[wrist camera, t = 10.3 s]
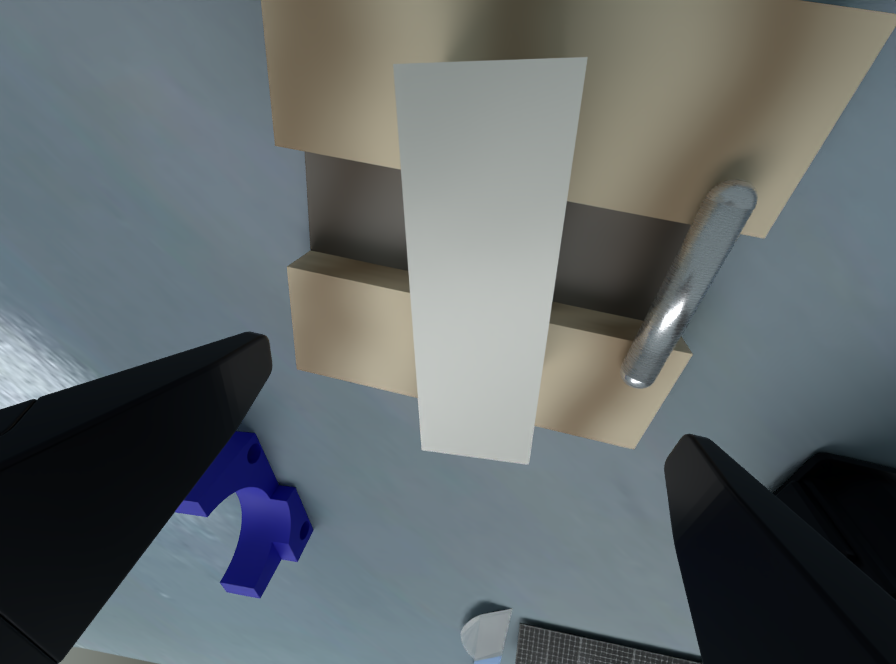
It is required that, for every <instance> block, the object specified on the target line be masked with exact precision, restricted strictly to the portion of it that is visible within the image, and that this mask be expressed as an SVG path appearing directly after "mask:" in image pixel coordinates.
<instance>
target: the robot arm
mask: <svg viewBox="0 0 896 664" xmlns="http://www.w3.org/2000/svg"><path fill="white" fill-rule="evenodd" d="M271 371H272V358H271V351H270V343H269V339H268V338H267V336H265V335H263V334H259V333H254V332H244V333H241V334H238V335H235V336H232V337H228V338H225V339H222V340H219V341H216V342H213V343H209V344H206V345H203V346H200V347H197V348H194V349H190V350H187V351H184V352H181V353H178V354H175V355H171V356H168V357H165V358H162V359H159V360H156V361H152V362H149V363H146V364H143V365H140V366H137V367H133V368H130V369H127V370H124V371H121V372H118V373H114V374H111V375H108V376H105V377H102V378H99V379H96V380H92V381H89V382H86V383H83V384H80V385H77V386H73V387H70V388H67V389H64V390H61V391H58V392H54V393H51V394H48V395H45V396H42V397H40V398H38V400H36V399H32V400H29V401H26V402H22V403H19V404H16V405H13V406H10V407H7V408H4V409H0V664H58V663H59V662H61V661H62V660H63V659H64V657H65V656H66V655H67V653H68V652H69V651H70V649H71V648H72V647H73V646H74V644H75V643H76V642H77V640H78V639H79V638H80V636H81V635H82V634H83V632H84V631H85V630H86V628H87V627H88V626H89V624H90V623H91V622H92V620H93V619H94V618H95V617H96V615H97V614H98V613H99V611H100V610H101V609H102V607H103V606H104V605H105V603H106V602H107V601H108V599H109V598H110V597H111V595H112V594H113V593H114V591H115V590H116V589H117V587H118V586H119V585H120V584H121V582H122V581H123V580H124V578H125V577H126V576H127V574H128V573H129V572H130V570H131V569H132V568H133V566H134V565H135V564H136V562H137V561H138V560H139V558H140V557H141V556H142V555H143V553H144V552H145V551H146V549H147V548H148V547H149V545H150V544H151V543H152V541H153V540H154V539H155V537H156V536H157V535H158V533H159V532H160V531H161V529H162V528H163V527H164V526H165V524H166V523H167V522H168V520H169V519H170V518H171V516H172V515H173V514H174V512H175V511H176V510H177V508H178V507H179V506H180V504H181V503H182V502H183V500H184V499H185V498H186V496H187V495H188V494H189V493H190V491H191V490H192V489H193V487H194V486H195V485H196V483H197V482H198V481H199V479H200V478H201V477H202V475H203V474H204V473H205V471H206V470H207V469H208V467H209V466H210V465H211V464H212V462H213V461H214V460H215V458H216V457H217V456H218V454H219V453H220V452H221V450H222V449H223V448H224V446H225V445H226V444H227V442H228V441H229V440H230V438H231V437H232V436H233V434H234V433H235V431H236V430H237V428H238V427H239V425H240V424H241V422H242V420H243V419H244V417H245V416H246V414H247V412H248V411H249V409H250V407H251V406H252V404H253V402H254V401H255V399H256V397H257V396H258V394H259V392H260V391H261V389H262V387H263V386H264V384H265V382H266V381H267V379H268V377H269V376H270V374H271ZM664 472H665V480H666V487H667V495H668V502H669V510H670V518H671V525H672V533H673V539H674V544H675V549H676V554H677V558H678V562H679V566H680V571H681V575H682V579H683V583H684V587H685V591H686V595H687V599H688V604H689V608H690V612H691V616H692V620H693V624H694V628H695V633H696V637H697V641H698V645H699V649H700V653H701V657H702V662H703V664H896V469H895V468H891V467H886V466H882V465H878V464H873V463H869V462H865V461H860V460H856V459H852V458H847V457H843V456H839V455H834V454H830V453H819V454H816V455H814V456H812V457H811V458H810V459H809V460H808V461H807V462H806V463H805V464H804V465H803V466H802V467H801V468H800V469H799V470H798V471H797V472H796V473H795V474H794V475H793V476H792V477H791V478H790V479H789V480H788V481H787V482H786V483H785V484H784V485H783V486H782V487H781V488H780V489H779V490H778V491H777V492H775V493H774V494H773V493H771V492H770V491H769V490H768V489H767V488H766V487H765V486H763V485H762V484H761V483H760V482H759V481H758V480H757V479H755V478H754V477H753V476H752V475H751V474H750V473H748V472H747V471H746V470H745V469H744V468H743V467H742V466H740V465H739V464H738V463H737V462H736V461H735V460H734V459H732V458H731V457H730V456H729V455H728V454H727V453H725V452H724V451H723V450H722V449H721V448H720V447H719V446H717V445H716V444H715V443H714V442H713V441H712V440H710V439H708V438H706V437H702V436H697V435H693V434H686V435H684V436H682V438H681V439H680V440H679V442H678V443H677V445H676V446H675V447H674V449H673V450H672V452H671V453H670V454H669V456H668V457H667V459H666V462H665V466H664Z"/></svg>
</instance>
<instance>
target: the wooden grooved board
mask: <svg viewBox="0 0 896 664" xmlns="http://www.w3.org/2000/svg"><path fill="white" fill-rule="evenodd" d="M261 6H262V16H263V26H264V36H265V47H266V57H267V67H268V78H269V88H270V98H271V108H272V119H273V129H274V139H275V146H279V147H285V148H290V149H295V150H300V151H305V165H306V181H307V198H308V215H309V232H310V249H311V251H309V252H308V253H306V254H305V255H303V256H302V257H300V258H299V259H297V260H296V261H294V262H293V263H291V264H290V265H288V266H287V273H288V283H289V293H290V303H291V314H292V324H293V334H294V344H295V355H296V365H297V369H298V370H302V371H307V372H311V373H315V374H319V375H323V376H328V377H332V378H336V379H340V380H344V381H349V382H353V383H357V384H361V385H365V386H370V387H374V388H378V389H382V390H386V391H391V392H395V393H399V394H403V395H407V396H412V397H416V398H418V393H417V379H416V366H415V352H414V339H413V326H412V312H411V299H410V285H409V272H408V258H407V245H406V231H405V218H404V205H403V191H402V178H401V164H400V151H399V137H398V124H397V110H396V97H395V84H394V70H393V64H406V63H434V62H462V61H490V60H518V59H546V58H574V57H588V59H587V65H586V72H585V79H584V86H583V93H582V100H581V107H580V114H579V121H578V128H577V135H576V141H575V148H574V155H573V162H572V169H571V176H570V183H569V190H568V197H567V204H566V211H565V218H564V224H563V231H562V238H561V245H560V252H559V259H558V266H557V273H556V280H555V287H554V294H553V300H552V307H551V314H550V321H549V328H548V335H547V342H546V349H545V356H544V363H543V370H542V377H541V383H540V390H539V397H538V404H537V411H536V418H535V425H534V426H538V427H542V428H546V429H550V430H554V431H558V432H563V433H567V434H571V435H575V436H579V437H584V438H588V439H592V440H596V441H600V442H605V443H609V444H613V445H617V446H621V447H626V448H630V449H635V447H636V445H637V444H638V442H639V441H640V439H641V437H642V436H643V434H644V432H645V431H646V429H647V428H648V426H649V424H650V423H651V421H652V420H653V418H654V416H655V415H656V413H657V411H658V410H659V408H660V407H661V405H662V403H663V402H664V400H665V398H666V397H667V395H668V394H669V392H670V390H671V389H672V387H673V386H674V384H675V382H676V381H677V379H678V377H679V376H680V374H681V373H682V371H683V369H684V368H685V366H686V365H687V363H688V361H689V360H690V358H691V356H692V355H693V354H692V352H691V351H690V349H689V348H688V346H687V345H686V343H685V341H684V340H683V338H682V337H681V335H682V334H683V332H684V330H685V329H686V327H687V325H688V323H689V322H690V320H691V318H692V316H693V315H694V313H695V311H696V310H697V308H698V306H699V304H700V303H701V301H702V299H703V297H704V296H705V294H706V292H707V290H708V289H709V287H710V285H711V284H712V282H713V280H714V278H715V277H716V275H717V273H718V271H719V270H720V268H721V266H722V265H723V263H724V261H725V259H726V258H727V256H728V254H729V252H730V251H731V249H732V247H733V246H734V244H735V242H736V240H737V239H738V237H739V235H740V234H743V235H748V236H753V237H759V238H765V237H766V235H767V233H768V232H769V230H770V229H771V227H772V225H773V224H774V222H775V221H776V219H777V217H778V216H779V214H780V212H781V211H782V209H783V208H784V206H785V204H786V203H787V201H788V200H789V198H790V196H791V195H792V193H793V191H794V190H795V188H796V187H797V185H798V183H799V182H800V180H801V178H802V177H803V175H804V174H805V172H806V170H807V169H808V167H809V166H810V164H811V162H812V161H813V159H814V157H815V156H816V154H817V153H818V151H819V149H820V148H821V146H822V145H823V143H824V141H825V140H826V138H827V136H828V135H829V133H830V132H831V130H832V128H833V127H834V125H835V124H836V122H837V120H838V119H839V117H840V115H841V114H842V112H843V111H844V109H845V107H846V106H847V104H848V102H849V101H850V99H851V98H852V96H853V94H854V93H855V91H856V90H857V88H858V86H859V85H860V83H861V81H862V80H863V78H864V77H865V75H866V73H867V72H868V70H869V69H870V67H871V65H872V64H873V62H874V60H875V59H876V57H877V56H878V54H879V52H880V51H881V49H882V47H883V46H884V44H885V43H886V41H887V39H888V38H889V36H890V35H891V33H892V31H893V30H894V28H895V26H896V14H893V13H886V12H879V11H872V10H865V9H858V8H851V7H843V6H836V5H829V4H822V3H815V2H808V1H801V0H261Z"/></svg>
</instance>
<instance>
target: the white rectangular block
mask: <svg viewBox="0 0 896 664" xmlns="http://www.w3.org/2000/svg"><path fill="white" fill-rule="evenodd" d="M587 59H588V57H574V58H546V59H518V60H490V61H462V62H434V63H406V64H393V70H394V84H395V97H396V110H397V124H398V137H399V151H400V164H401V178H402V191H403V205H404V218H405V231H406V245H407V258H408V272H409V285H410V299H411V312H412V326H413V339H414V352H415V366H416V379H417V393H418V406H419V420H420V433H421V447H422V450H425V451H432V452H439V453H446V454H454V455H461V456H468V457H476V458H483V459H490V460H497V461H505V462H512V463H519V464H527V465H529V459H530V453H531V446H532V439H533V432H534V425H535V418H536V411H537V404H538V397H539V390H540V383H541V377H542V370H543V363H544V356H545V349H546V342H547V335H548V328H549V321H550V314H551V307H552V300H553V294H554V287H555V280H556V273H557V266H558V259H559V252H560V245H561V238H562V231H563V224H564V218H565V211H566V204H567V197H568V190H569V183H570V176H571V169H572V162H573V155H574V148H575V141H576V135H577V128H578V121H579V114H580V107H581V100H582V93H583V86H584V79H585V72H586V65H587Z"/></svg>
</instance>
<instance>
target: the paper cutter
mask: <svg viewBox="0 0 896 664" xmlns="http://www.w3.org/2000/svg"><path fill="white" fill-rule="evenodd" d="M511 613H512V609H508V610H502V611H497V612H492V613H487V614H481V615H479V616H477V617H474V618H473V619H471V620H470V621H469V622H467V623H466V624H465V626H464V627H463V629H462V631H461V641H462V644H463V646H464V648H465V650H466V651H467V652H468V653H469V655H470V656H471V657H473V658H474V664H500V661H501V657H502V652H503V648H504V643H505V639H506V635H507V630H508V626H509V622H510V617H511ZM515 664H703V663H700V662H695V661H691V660H686V659H682V658H677V657H672V656H668V655H663V654H659V653H654V652H650V651H645V650H641V649H636V648H632V647H627V646H623V645H618V644H613V643H609V642H604V641H600V640H595V639H591V638H586V637H582V636H577V635H573V634H568V633H564V632H559V631H554V630H550V629H545V628H541V627H536V626H532V625H527V624H523V623H520V627H519V636H518V645H517V653H516V662H515Z"/></svg>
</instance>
